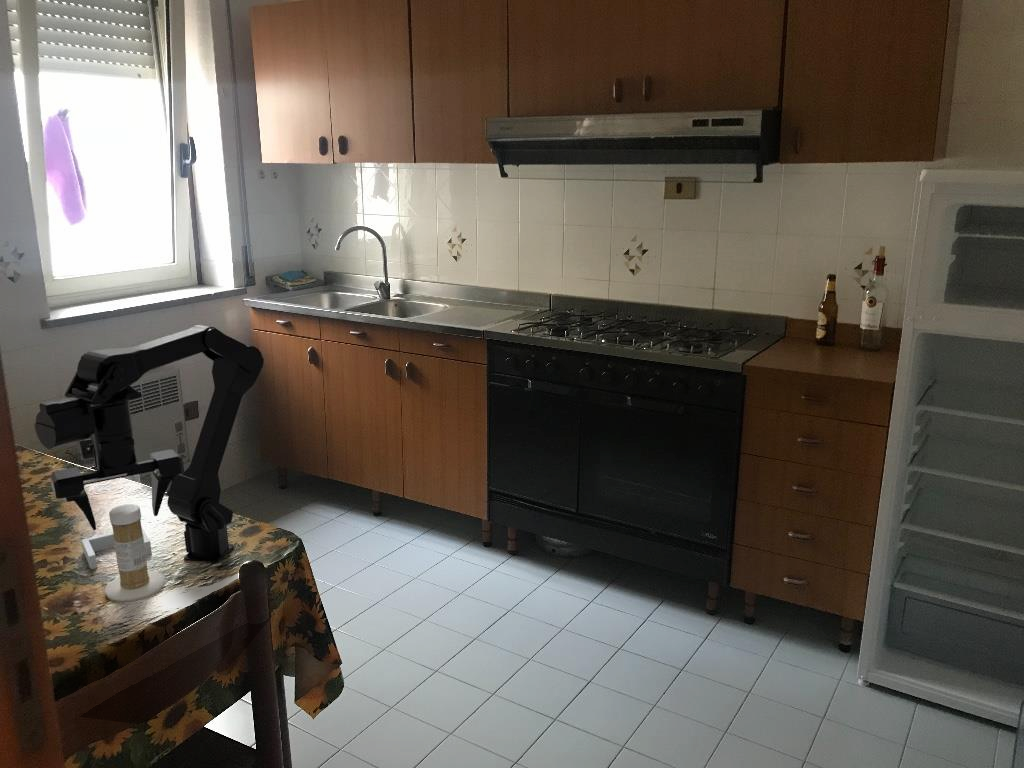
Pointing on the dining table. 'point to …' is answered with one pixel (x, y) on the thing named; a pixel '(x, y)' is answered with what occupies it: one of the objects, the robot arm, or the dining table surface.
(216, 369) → the robot arm
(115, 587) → the coaster
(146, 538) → the grey archway
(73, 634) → the dining table surface
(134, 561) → the sprinkles bottle
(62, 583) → the dining table surface
